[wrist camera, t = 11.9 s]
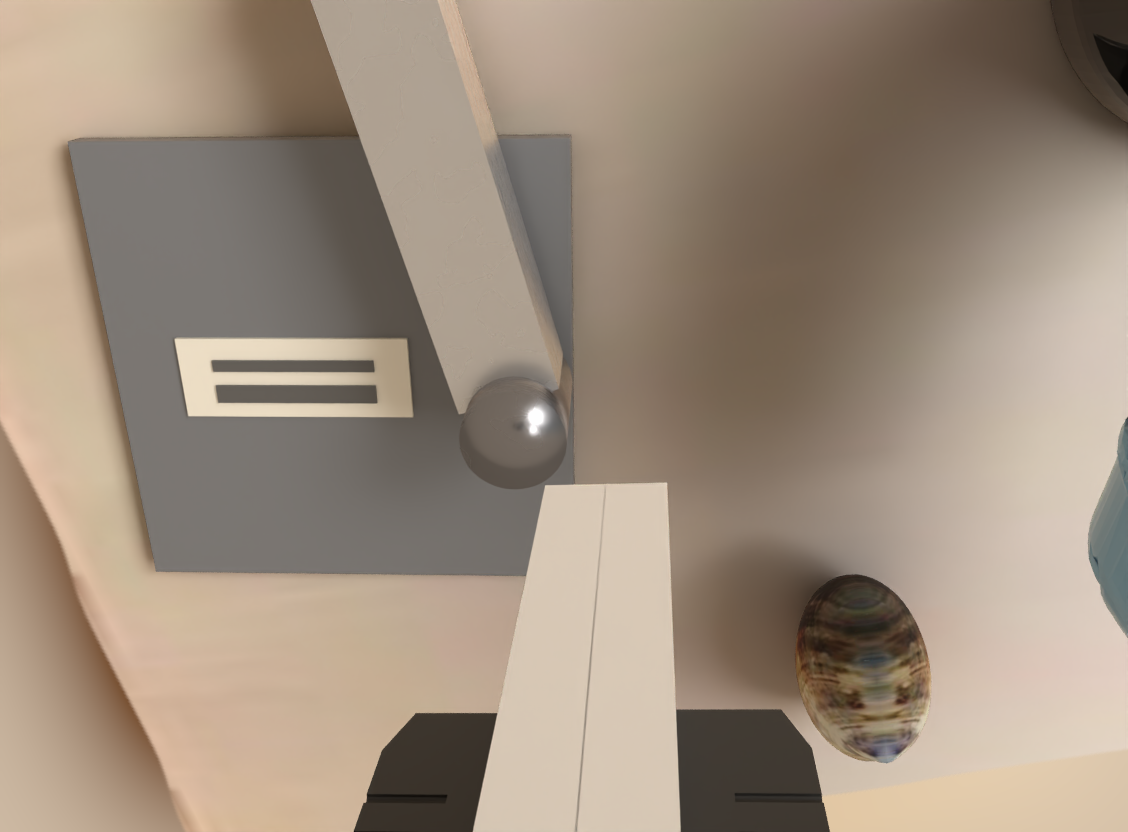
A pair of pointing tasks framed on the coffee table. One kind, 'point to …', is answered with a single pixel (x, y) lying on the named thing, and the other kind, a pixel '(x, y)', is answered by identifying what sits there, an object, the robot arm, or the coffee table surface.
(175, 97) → the coffee table surface
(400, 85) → the swing bar
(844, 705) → the seashell
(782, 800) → the robot arm
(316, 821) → the coffee table surface
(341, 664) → the coffee table surface
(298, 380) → the panel
